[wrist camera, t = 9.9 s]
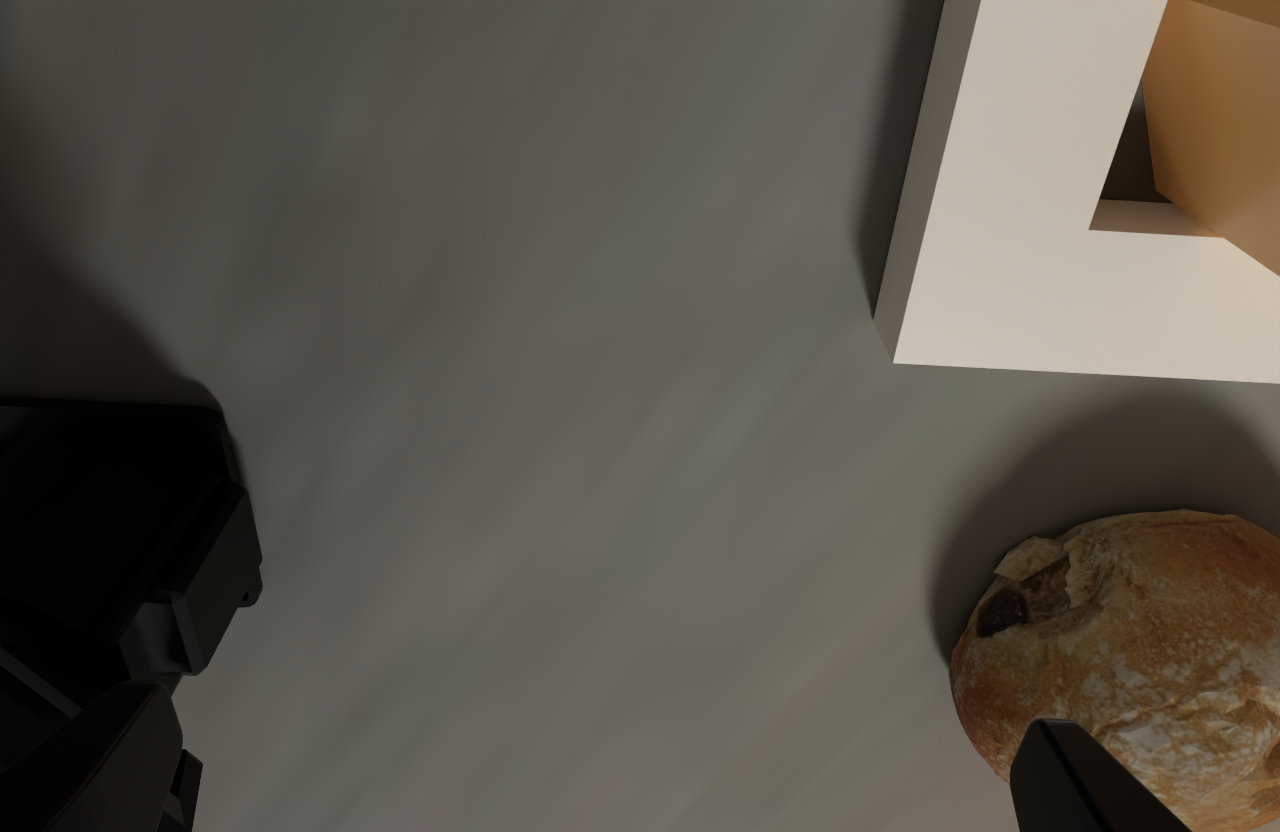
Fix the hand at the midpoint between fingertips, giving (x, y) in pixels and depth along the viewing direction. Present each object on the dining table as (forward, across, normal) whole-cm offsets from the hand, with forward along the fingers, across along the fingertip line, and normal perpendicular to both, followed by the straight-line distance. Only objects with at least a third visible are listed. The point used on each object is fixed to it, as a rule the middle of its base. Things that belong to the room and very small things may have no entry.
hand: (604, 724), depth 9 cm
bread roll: (+13, -16, +11) cm, 23 cm away
